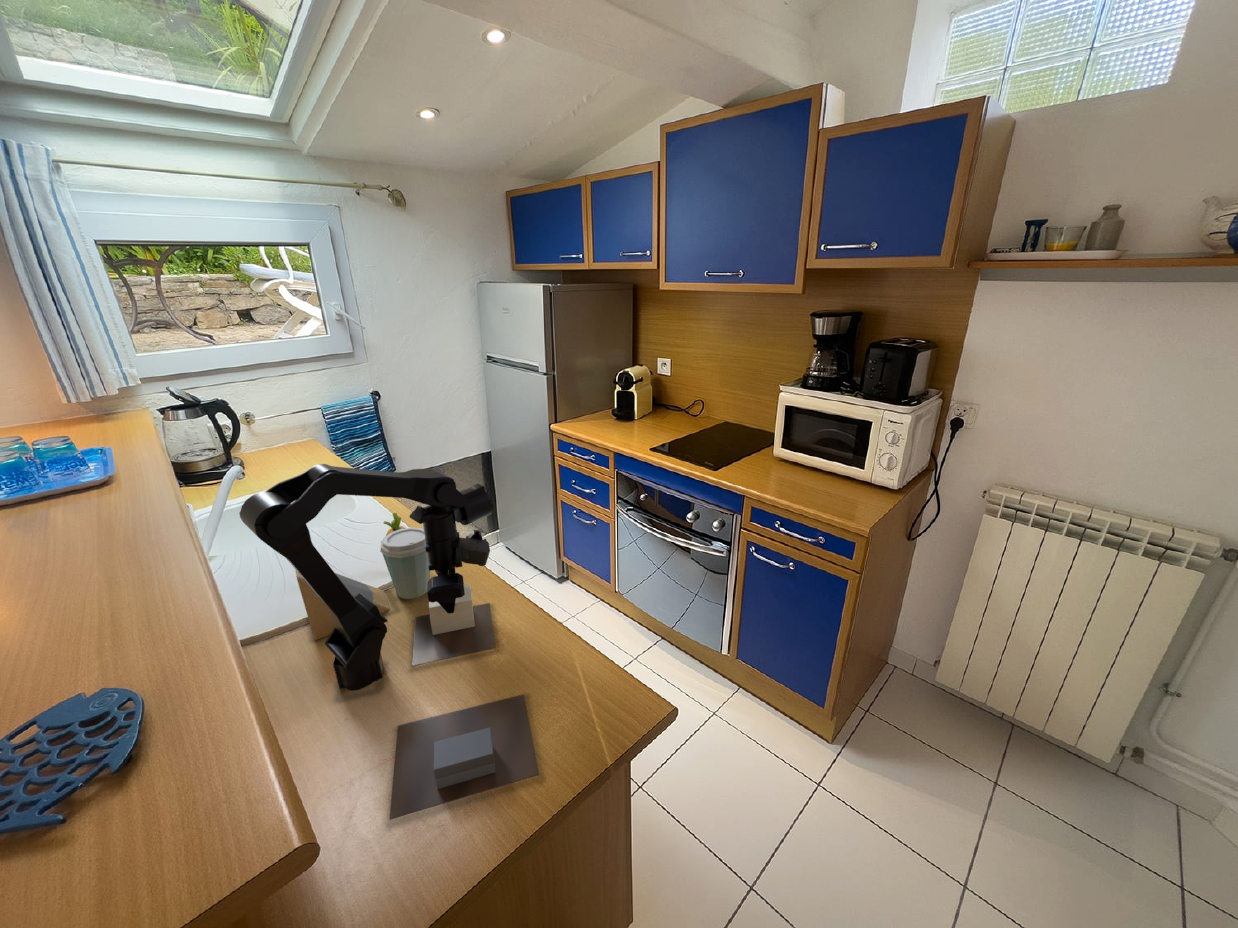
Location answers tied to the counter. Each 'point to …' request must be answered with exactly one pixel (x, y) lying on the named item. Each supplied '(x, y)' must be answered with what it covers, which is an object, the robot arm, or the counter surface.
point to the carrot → (394, 524)
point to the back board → (453, 638)
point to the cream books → (452, 621)
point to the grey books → (463, 758)
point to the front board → (417, 738)
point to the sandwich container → (320, 611)
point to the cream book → (460, 603)
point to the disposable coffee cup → (407, 561)
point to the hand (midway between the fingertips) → (450, 601)
